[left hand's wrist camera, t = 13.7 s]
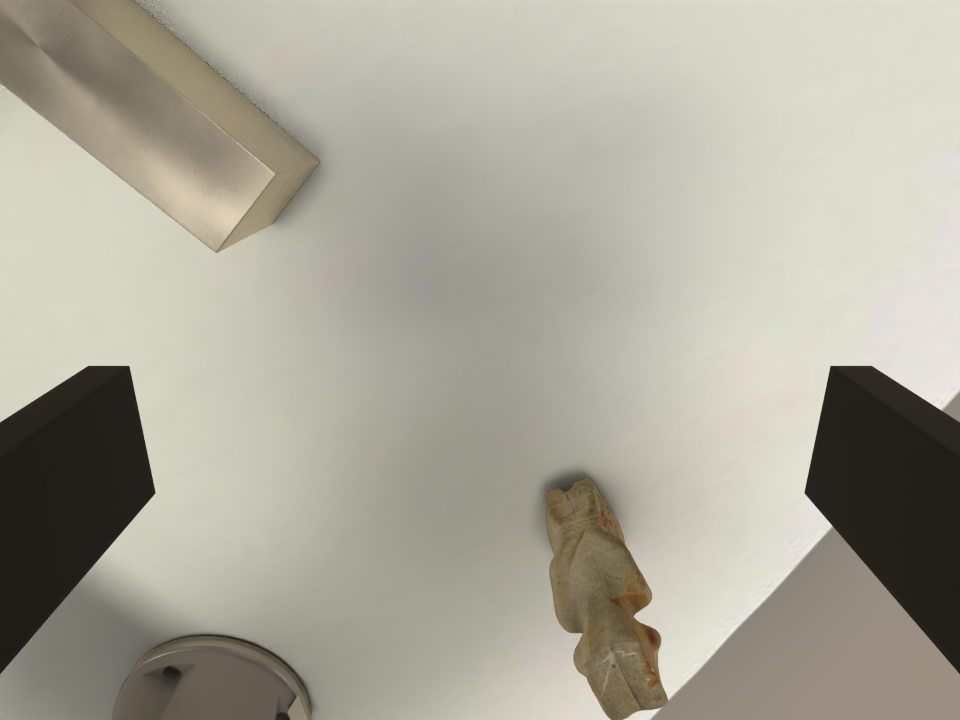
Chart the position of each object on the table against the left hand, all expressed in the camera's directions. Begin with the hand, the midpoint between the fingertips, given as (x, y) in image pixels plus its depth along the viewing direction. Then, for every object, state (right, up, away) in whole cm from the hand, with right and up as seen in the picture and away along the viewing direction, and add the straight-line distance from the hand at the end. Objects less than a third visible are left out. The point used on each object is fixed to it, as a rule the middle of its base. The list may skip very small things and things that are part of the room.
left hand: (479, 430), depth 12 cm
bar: (-19, +18, +24) cm, 36 cm away
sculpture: (+7, -10, +35) cm, 37 cm away
